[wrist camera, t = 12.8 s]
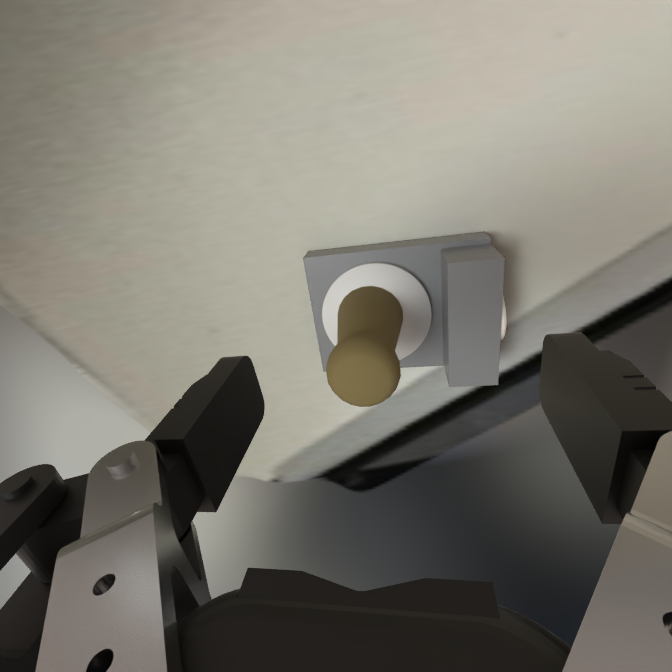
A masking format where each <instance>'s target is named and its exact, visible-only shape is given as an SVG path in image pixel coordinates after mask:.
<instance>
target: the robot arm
mask: <svg viewBox="0 0 672 672" xmlns="http://www.w3.org/2000/svg"><path fill="white" fill-rule="evenodd" d="M539 392H540V400H541V404H542V408H543V410H544V412H545V414H546V416H547V418H548V420H549V422H550V424H551V426H552V427H553V430H554V432H555V433H556V436H557V437H558V439H559V441H560V443H561V445H562V447H563V449H564V451H565V453H566V455H567V457H568V459H569V461H570V463H571V464H572V466H573V468H574V470H575V472H576V474H577V476H578V478H579V480H580V482H581V483H582V486H583V488H584V490H585V491H586V493H587V495H588V497H589V499H590V501H591V503H592V505H593V507H594V509H595V510H596V513H597V515H598V516H599V519H600V521H601V522H602V524H603V523H604V524H621V527H620V529H619V532H618V534H617V537H616V539H615V542H614V544H613V547H612V549H611V552H610V554H609V557H608V559H607V561H606V564H605V566H604V569H603V571H602V574H601V577H600V579H599V582H598V584H597V586H596V589H595V592H594V594H593V596H592V599H591V601H590V604H589V606H588V609H587V611H586V614H585V616H584V619H583V621H582V624H581V626H580V629H579V631H578V634H577V636H576V639H575V641H574V644H573V646H572V648H571V647H570V646H568V645H567V644H566V643H565V642H564V641H562V640H561V639H559V638H558V637H557V636H555V635H554V634H553V633H551V632H550V631H549V630H547V629H546V628H544V627H542V626H541V625H539V624H537V623H536V622H534V621H532V620H531V619H529V618H527V617H525V616H523V615H521V614H518V613H516V612H514V611H512V610H510V609H507V608H504V607H501V606H498V605H497V603H496V597H495V593H494V588H493V583H492V582H481V581H464V580H446V579H445V580H444V579H429V578H425V579H420V580H415V581H410V582H406V583H401V584H397V585H392V586H387V587H383V588H378V589H373V590H368V591H356V590H352V589H350V588H347V587H344V586H341V585H339V584H336V583H333V582H331V581H328V580H325V579H322V578H320V577H317V576H314V575H311V574H309V573H306V572H303V571H294V570H277V569H260V568H248V569H247V572H246V575H245V577H244V580H243V583H242V586H241V588H240V589H237V590H234V591H231V592H228V593H225V594H223V595H221V596H218V597H216V598H214V599H211V596H210V592H209V588H208V583H207V579H206V574H205V569H204V564H203V560H202V555H201V550H200V545H199V541H198V536H197V531H196V528H195V525H194V524H193V521H192V520H193V518H194V516H195V514H196V513H197V512H216V511H217V509H218V507H219V505H220V503H221V501H222V499H223V497H224V495H225V493H226V491H227V489H228V487H229V485H230V483H231V481H232V479H233V477H234V475H235V473H236V471H237V469H238V467H239V465H240V463H241V461H242V459H243V457H244V455H245V453H246V451H247V449H248V447H249V445H250V443H251V441H252V439H253V437H254V435H255V433H256V431H257V429H258V427H259V425H260V423H261V421H262V419H263V416H264V399H263V395H262V392H261V389H260V386H259V382H258V379H257V376H256V373H255V369H254V366H253V363H252V361H251V359H250V358H249V357H248V356H235V357H223V358H221V359H220V360H219V361H218V362H217V364H216V365H215V366H214V367H213V368H212V370H211V371H210V372H209V373H208V375H205V376H204V377H203V378H201V379H200V380H198V381H197V382H195V383H194V384H193V385H191V387H190V388H189V389H188V390H187V391H186V392H185V394H184V395H183V396H182V399H180V400H179V401H178V402H177V403H176V404H175V405H174V409H171V410H170V411H169V412H168V414H167V415H166V416H165V417H164V418H163V419H162V421H161V422H160V423H159V424H158V425H157V427H156V428H155V429H154V430H153V431H152V432H151V434H150V435H149V436H148V437H147V438H146V439H145V441H135V442H131V443H128V444H125V445H122V446H120V447H118V448H116V449H115V450H112V451H111V452H109V453H108V454H106V455H105V456H104V457H102V458H101V459H100V460H99V461H98V462H97V463H96V464H95V465H94V467H93V468H92V469H91V471H90V473H88V474H85V475H81V476H77V477H73V478H69V479H65V480H63V479H62V478H61V476H60V475H59V473H58V472H57V470H56V469H55V467H54V466H52V465H49V464H42V465H37V466H33V467H30V468H27V469H25V470H23V471H20V472H18V473H16V474H14V475H13V476H11V477H9V478H7V479H6V480H4V481H3V482H2V483H0V570H1V569H2V568H3V567H4V566H5V565H6V564H7V562H8V561H9V560H10V559H11V558H12V557H13V556H14V554H15V553H16V554H17V555H18V556H19V558H20V559H21V560H22V561H23V562H24V563H25V565H26V566H27V567H28V568H29V569H30V570H31V572H30V574H29V575H28V576H27V577H26V579H25V580H24V581H23V582H22V584H21V585H20V586H19V587H18V589H17V590H16V591H15V592H14V594H13V595H12V596H11V597H10V598H9V600H8V601H7V602H6V603H5V605H4V606H3V607H2V608H1V610H0V672H672V402H671V401H670V400H669V399H668V398H667V397H666V396H665V395H664V394H663V393H662V392H661V391H660V390H656V386H655V385H654V384H652V382H650V381H649V379H647V378H644V375H643V374H642V373H641V372H640V371H639V370H638V369H637V368H636V367H635V366H634V365H633V364H632V363H631V362H630V361H628V360H626V359H624V358H622V357H620V356H618V355H616V354H614V353H612V352H610V351H599V350H598V349H597V348H596V347H595V346H594V345H593V344H592V343H591V341H590V340H589V339H588V338H587V337H586V336H585V335H584V334H583V333H581V332H577V333H563V334H549V335H546V336H545V338H544V341H543V350H542V362H541V374H540V385H539Z"/></svg>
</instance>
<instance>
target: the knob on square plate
mask: <svg viewBox="0 0 672 672" xmlns="http://www.w3.org/2000/svg"><path fill="white" fill-rule="evenodd" d="M303 261H304V267H305V272H306V278H307V283H308V289H309V294H310V300H311V305H312V311H313V316H314V322H315V327H316V333H317V338H318V344H319V349H320V354H321V360H322V365H323V371H324V372H325V371H326V366H327V362H328V358H329V355H330V353H331V352H332V350H333V349H334V347H335V346H336V345H337V331H338V310H339V305H340V304H341V302H342V300H343V299H344V297H345V296H346V295H347V294H349V293H350V292H351V291H352V290H355V289H357V288H360V287H365V286H375V287H380V288H383V289H385V290H387V291H389V292H390V293H392V294H393V295H394V296H395V297H396V298H397V300H398V301H399V303H400V305H401V307H402V310H403V323H402V326H401V330H400V334H399V338H398V342H397V346H396V349H395V352H396V354H397V357H398V359H399V361H400V368H404V367H424V366H443V365H444V367H445V371H446V376H447V380H448V384H449V387H458V386H483V385H498V375H499V357H500V340H503V338H504V336H505V332H506V330H507V326H506V307H505V301H504V298H503V285H504V267H505V257H504V256H503V255H502V254H501V253H500V252H499V251H498V250H497V249H496V248H495V247H494V246H493V245H492V244H491V237H490V236H489V235H488V234H487V233H486V232H478V233H469V234H460V235H451V236H442V237H433V238H424V239H415V240H406V241H397V242H388V243H379V244H370V245H361V246H352V247H343V248H334V249H325V250H316V251H308V252H307V254H306V255H305V256H304V257H303Z"/></svg>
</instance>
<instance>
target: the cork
mask: <svg viewBox="0 0 672 672" xmlns="http://www.w3.org/2000/svg"><path fill="white" fill-rule="evenodd" d="M402 323H403V310H402V307H401V305H400V303H399V301H398V300H397V298H396V297H395V296H394V295H393V294H392V293H390V292H389V291H387V290H385V289H383V288H380V287H375V286H365V287H360V288H357V289H355V290H352V291H351V292H350V293H349V294H347V295H346V296H345V297H344V299H343V300H342V302H341V304H340V305H339V310H338V331H337V345H336V346H335V347H334V349H333V350H332V352H331V353H330V355H329V358H328V362H327V366H326V372H327V378H328V383H329V385H330V387H331V389H332V390H333V392H334V393H335V394H336V395H337V396H338V397H339V398H340V399H342V400H343V401H345V402H347V403H349V404H351V405H355V406H359V407H366V406H373V405H376V404H379V403H381V402H383V401H384V400H386V399H387V398H389V397H390V396H391V395H392V394H393V392H394V391H395V390H396V388H397V386H398V382H399V379H400V376H401V374H400V361H399V359H398V357H397V354H396V352H395V349H396V346H397V342H398V338H399V334H400V330H401V326H402Z"/></svg>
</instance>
